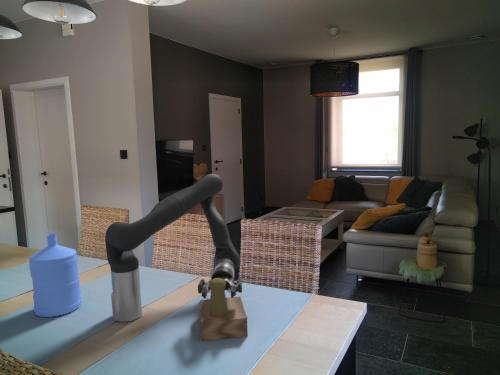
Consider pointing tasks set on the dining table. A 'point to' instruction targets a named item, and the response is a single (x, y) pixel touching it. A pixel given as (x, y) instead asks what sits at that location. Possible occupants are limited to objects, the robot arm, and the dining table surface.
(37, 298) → the water jug
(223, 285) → the cork
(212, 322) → the walnut block
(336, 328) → the dining table surface
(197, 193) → the robot arm
